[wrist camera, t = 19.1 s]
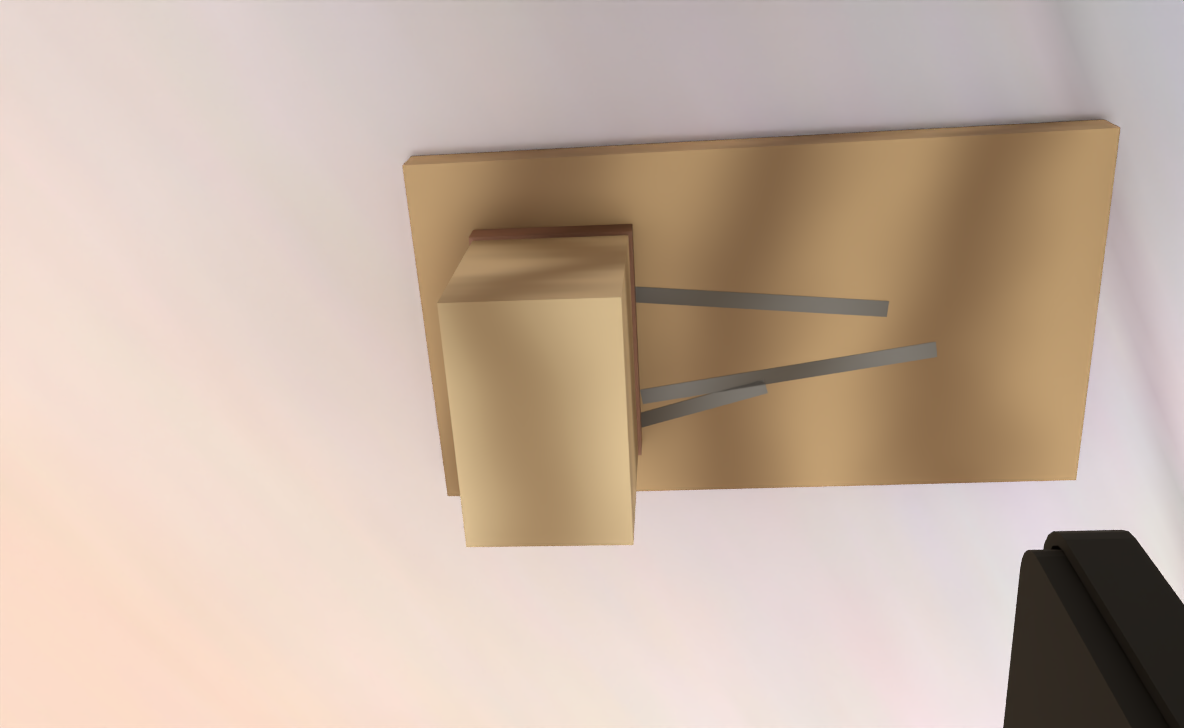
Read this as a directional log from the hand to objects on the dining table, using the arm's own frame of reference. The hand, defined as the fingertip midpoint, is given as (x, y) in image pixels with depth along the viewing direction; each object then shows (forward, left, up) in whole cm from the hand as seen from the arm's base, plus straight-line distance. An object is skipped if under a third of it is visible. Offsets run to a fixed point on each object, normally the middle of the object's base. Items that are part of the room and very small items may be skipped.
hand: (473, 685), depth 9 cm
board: (-4, +6, -24) cm, 25 cm away
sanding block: (+2, +6, -23) cm, 24 cm away
